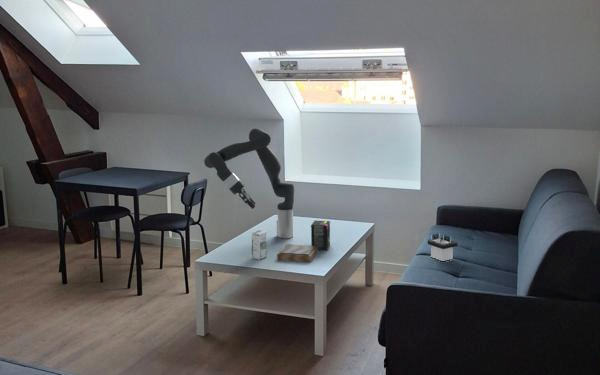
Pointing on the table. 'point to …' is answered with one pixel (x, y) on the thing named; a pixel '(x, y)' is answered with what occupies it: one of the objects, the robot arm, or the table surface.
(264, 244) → the syrup box
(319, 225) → the tampon box
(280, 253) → the brown wooden flat block
